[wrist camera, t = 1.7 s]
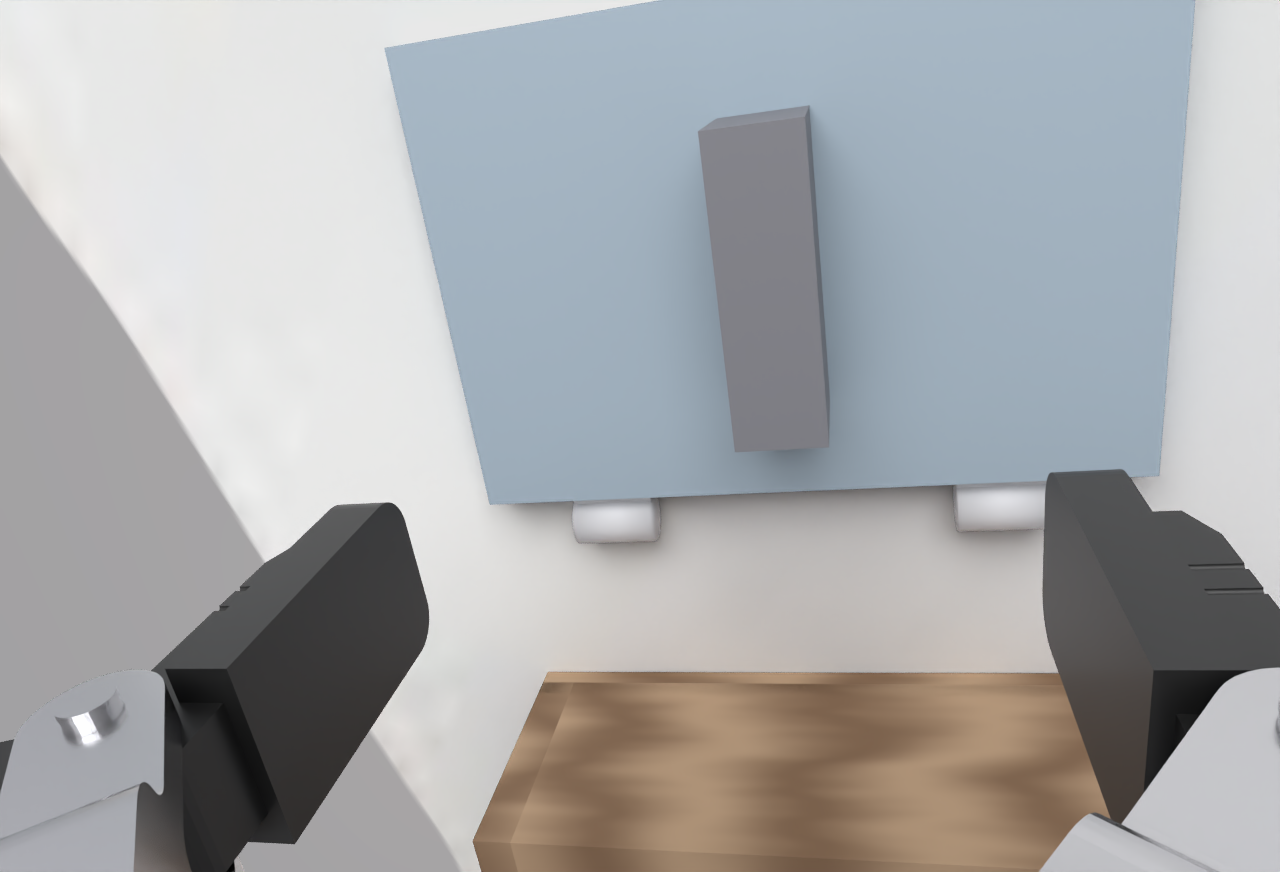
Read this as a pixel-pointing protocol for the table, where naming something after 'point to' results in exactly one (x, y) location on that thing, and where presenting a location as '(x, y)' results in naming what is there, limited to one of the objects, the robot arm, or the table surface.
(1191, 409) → the table surface
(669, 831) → the brown wooden open box
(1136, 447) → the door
